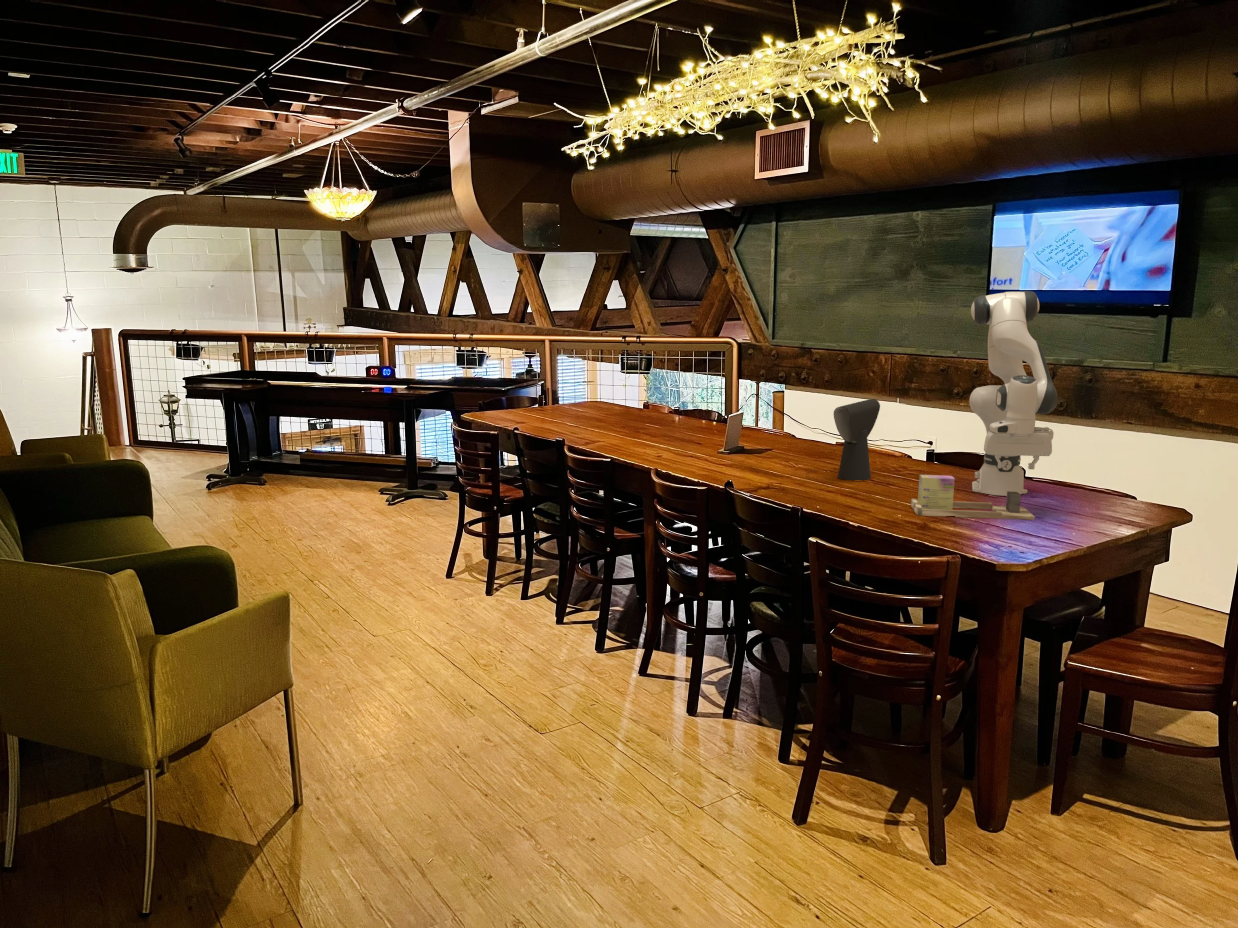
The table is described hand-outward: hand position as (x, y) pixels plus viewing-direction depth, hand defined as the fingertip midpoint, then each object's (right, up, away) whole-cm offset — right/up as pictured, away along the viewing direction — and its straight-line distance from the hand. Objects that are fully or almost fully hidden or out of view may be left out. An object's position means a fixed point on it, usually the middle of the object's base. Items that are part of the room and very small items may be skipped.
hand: (1015, 468), depth 289 cm
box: (-24, -14, +7) cm, 29 cm away
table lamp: (-42, -5, +57) cm, 71 cm away
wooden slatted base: (-13, -15, +5) cm, 20 cm away
